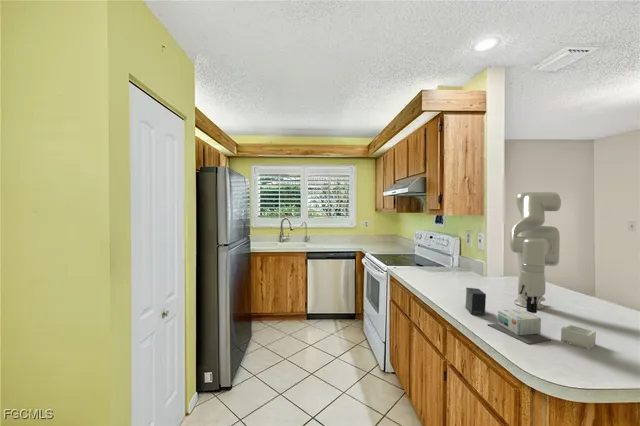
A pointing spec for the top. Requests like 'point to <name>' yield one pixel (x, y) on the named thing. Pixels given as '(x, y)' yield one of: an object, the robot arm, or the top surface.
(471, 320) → the top surface
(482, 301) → the small box
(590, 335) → the grey tub
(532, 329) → the light bulb box
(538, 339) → the mat
